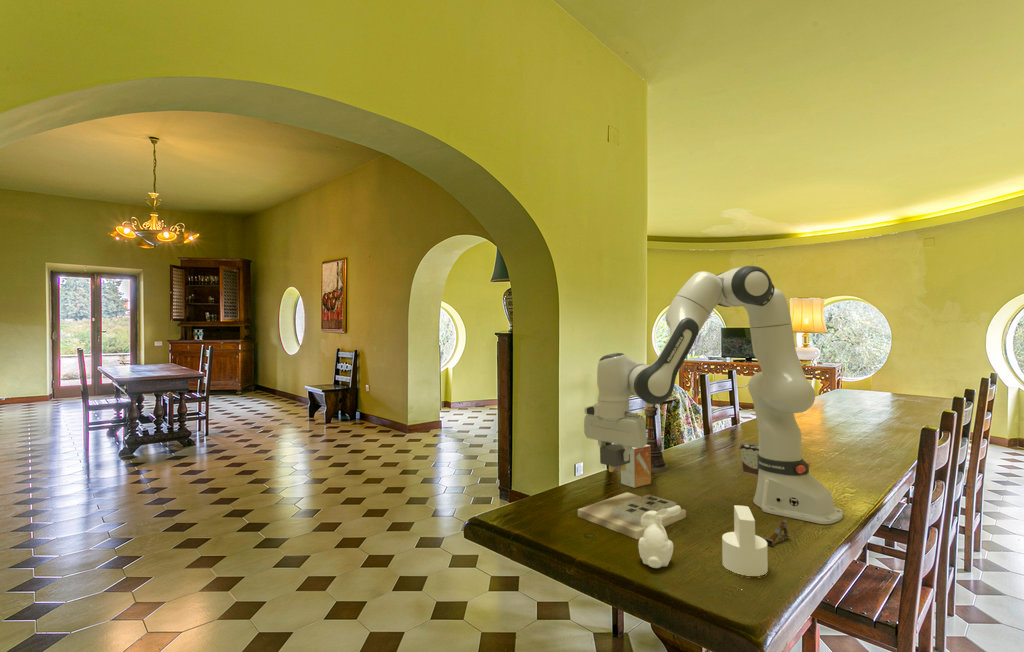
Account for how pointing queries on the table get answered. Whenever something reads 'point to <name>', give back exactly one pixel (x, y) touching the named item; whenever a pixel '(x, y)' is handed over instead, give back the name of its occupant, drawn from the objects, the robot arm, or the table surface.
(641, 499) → the socket
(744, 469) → the food container
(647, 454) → the small box
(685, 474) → the table surface
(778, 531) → the wooden post with brackets
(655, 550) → the rabbit
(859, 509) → the table surface
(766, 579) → the table surface
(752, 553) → the cylinder with rectangular tab
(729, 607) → the table surface
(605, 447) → the plug
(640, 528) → the board
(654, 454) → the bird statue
